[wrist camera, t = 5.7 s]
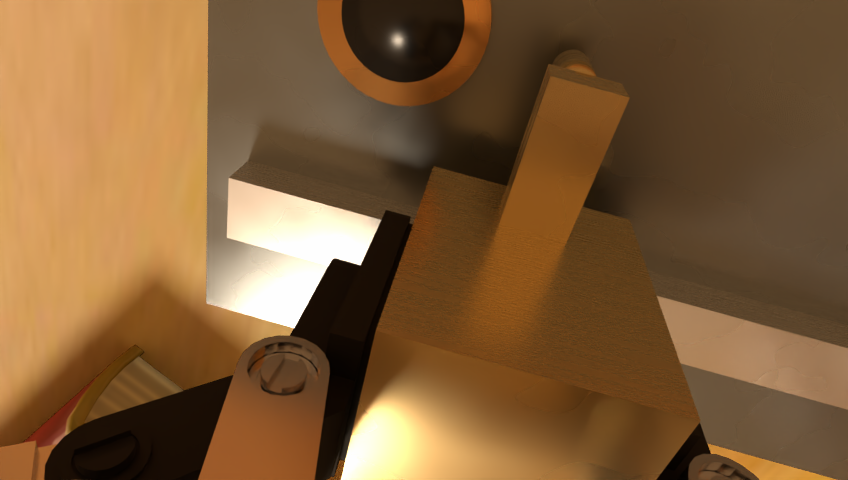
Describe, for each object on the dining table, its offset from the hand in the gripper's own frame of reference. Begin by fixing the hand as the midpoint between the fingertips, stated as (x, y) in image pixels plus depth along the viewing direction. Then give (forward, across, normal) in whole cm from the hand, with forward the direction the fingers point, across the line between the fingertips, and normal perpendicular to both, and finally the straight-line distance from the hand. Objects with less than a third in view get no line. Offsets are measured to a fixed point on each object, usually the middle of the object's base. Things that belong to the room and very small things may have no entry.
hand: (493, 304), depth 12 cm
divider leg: (+1, 0, -1) cm, 2 cm away
